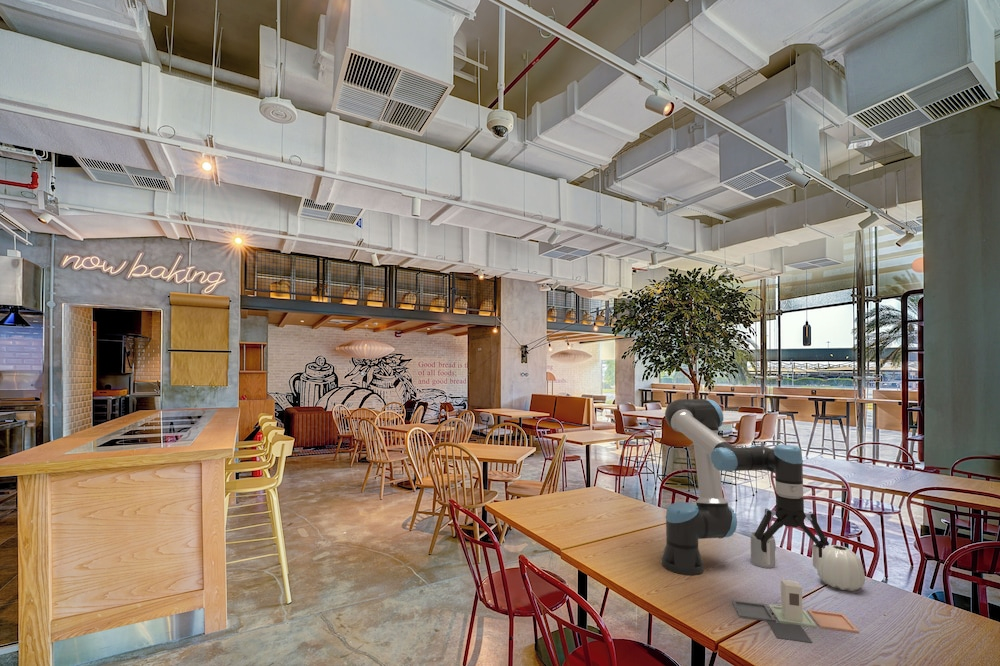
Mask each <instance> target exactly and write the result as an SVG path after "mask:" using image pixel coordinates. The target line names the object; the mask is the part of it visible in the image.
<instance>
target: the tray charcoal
mask: <svg viewBox="0 0 1000 666" xmlns="http://www.w3.org/2000/svg"><path fill="white" fill-rule="evenodd" d="M731 603H732V605H733V607H734V609H735V611H736V613H737V615H738V616H739V618H740V619H747V620H753V621H754V620H755V621H763V622H767V621H770V622H777V619H776V617H775V616H774V614H773V612H772V611H771V609H770V608H769V606H767V604H765V603H759V602H751V601H742V600H736V599H735V600H734V599H732V600H731Z"/></svg>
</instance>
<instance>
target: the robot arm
mask: <svg viewBox="0 0 1000 666" xmlns="http://www.w3.org/2000/svg"><path fill="white" fill-rule="evenodd" d="M664 417H665V418H664V419H665V421H666V423H667V425H668V426H669V427H670V428H671V429H672V430H673V431H675V432H677V433H682V435H684V436H685V437H687V438H688V439H689V440H690V441H691V442H692V443H693V450H694V457H695V468H696V476H697V485H698V494H699V497H698V499H697V500H696V503H693V502H683V501H680V502H679V501H678V502H674V503H670V504H669V505H668V506H667V508H666V512H665V520H666V521H665V523H666V524H665V527H666V528H665V531H666V532H665V533H666V535H665V536H666V537H665V538H666V539H665V541H666V543H665V547H664V549H663V553H662V556H661V565H662V567H663V568H664V569H667V570H668V571H670V572H673V573H675V574H680V575H686V576H687V575H688V576H689V575H692V576H694V575H699V574H701V573H704V562H703V559H702V555H701V552H700V549H699V540H702V539H703V540H705V539H723V538H730V537H732V536H733V535H734V533H735V532H736V530H737V526H738V519H737V514H736V513H735V510H734V509H733V508H732V507H731V506H729V502H728V500H726V498H725V497H724V495H723V489H722V478H721V472H722V471H724V472H738V471H739V472H742V471H747V472H748V471H767V472H770V473H774V476H775V478H774V482H775V493H776V495H775V507H776V508H775V510H772V509H771V510H770V508H769V509H768V508H765V509H764V515H763V517H762V519H761V521H760V523H759V525H758V527H757V529H756V531H754V532H755V534H754V536H755V537H756V538H757V539H758V540H761V549H762V551H763V552H765V562H766V563H767V564H769V565H770V543H769V542H768V540H769V539H770V538H771V537H772V536H774V535H775V534H776V532H778V530H779V529H781V528H782V527H783V526H785V527H786V528H787V527H793V528H798V527H800V528H801V530H802V531H804V533H805V534H806V535H807V536H808V537H809V539H811V541H812V542H814V544H812V545H811V546H812V566H813V567H814V569H816V570H817V569H818V570H819V558H822V549H824V548H825V546H826V547H828V546H830V543H829V541H828V539H827V537H826V536H825V533H824V532H823V530H822V528H821V527H820V525H819V523H818V521H817V515H816V514H815V513H813V512H812V511H809V512H806V513H805V504H804V503H805V502H804V498H803V497H804V481H803V480H804V478H803V477H804V473H803V471H804V469H803V466H804V465H803V463H804V460H803V454H802V453H803V451H802V449H801V448H800V447H798V446H795V445H789V444H788V445H787V444H776V445H775V446H774V448H770V447H767V446H763V445H752V446H750V447H744V446H742V447H736V446H734V445H733V444H731V443H730V442H728V441H726V440H725V439H724V438H723V437H721V436H720V435H718V433H719V432H720V430H719V428H720V427H721V426H722V425H723V423H724V413H723V409H722V407H721V406H720V405H719V403H717V402H716V401H715V400H712V399H706V398H698V399H697V398H690V399H689V398H679V399H675V400H673V401H671V402H670V403H669V404H668V405H667V407H666V409H665V412H664ZM774 516H776V519H774V522H773V523H772V524H771V525H770V526H769V527H768V525H769V523H770V521H771V520H772V518H773V517H774ZM806 519H807V520H808V521H809V522H810V523H811V526H812V527H813V530H815V532H816V534H817V536H815V535H814V534H813V532H812V531H811V530H810V529H809V528H808V527H807V526H806V524H805V523H804V521H805V520H806ZM767 527H768V529H767ZM763 533H764V534H763ZM817 537H818V538H819V539H818V538H817Z"/></svg>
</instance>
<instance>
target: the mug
mask: <svg viewBox="0 0 1000 666" xmlns="http://www.w3.org/2000/svg"><path fill="white" fill-rule="evenodd" d="M755 532H756V531H752V532H751V533H750V562H751V564H753V565H754V566H756V567H760V568H764V569H773V568H775V567H776V550H777V549H776V548H777V547H776V545H777V544H776V539H775V536H774V535H773V536H772V537H771V538H770V539H769V540H768V542H769V543H770V565H769V564H767V563H766V562H765V552H763V551H762V549H761V540H758V539H757V538H756V537H755V536H754V534H755ZM764 533H765V532H764ZM764 533H763V534H764Z"/></svg>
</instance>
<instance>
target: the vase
mask: <svg viewBox="0 0 1000 666" xmlns="http://www.w3.org/2000/svg"><path fill="white" fill-rule="evenodd" d="M863 566H864V565H863V563H862V560H861V558H859V556H858V555H857V554H856V553H855V552H854V551H852V550H851V549H850V548H848V547H846V546H842V545H837V544H836V545H835V544H832V545H828V546H826V547H823V548H822V558H819V570H818V569H816V571H817V575H818V577H820V579H821V581H823V582H824V584H826V585H828V586H831V588H834V589H838V590H840V591H849V592H853V591H858V590H860V589H861V588H862V587H863V586H864V585H865V583H866V576H865V570H864V567H863Z"/></svg>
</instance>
